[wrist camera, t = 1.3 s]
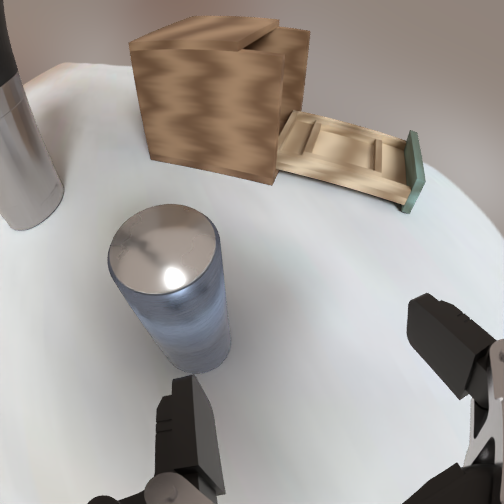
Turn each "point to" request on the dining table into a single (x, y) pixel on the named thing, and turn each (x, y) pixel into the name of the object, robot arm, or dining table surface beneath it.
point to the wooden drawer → (352, 157)
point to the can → (175, 283)
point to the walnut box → (220, 92)
